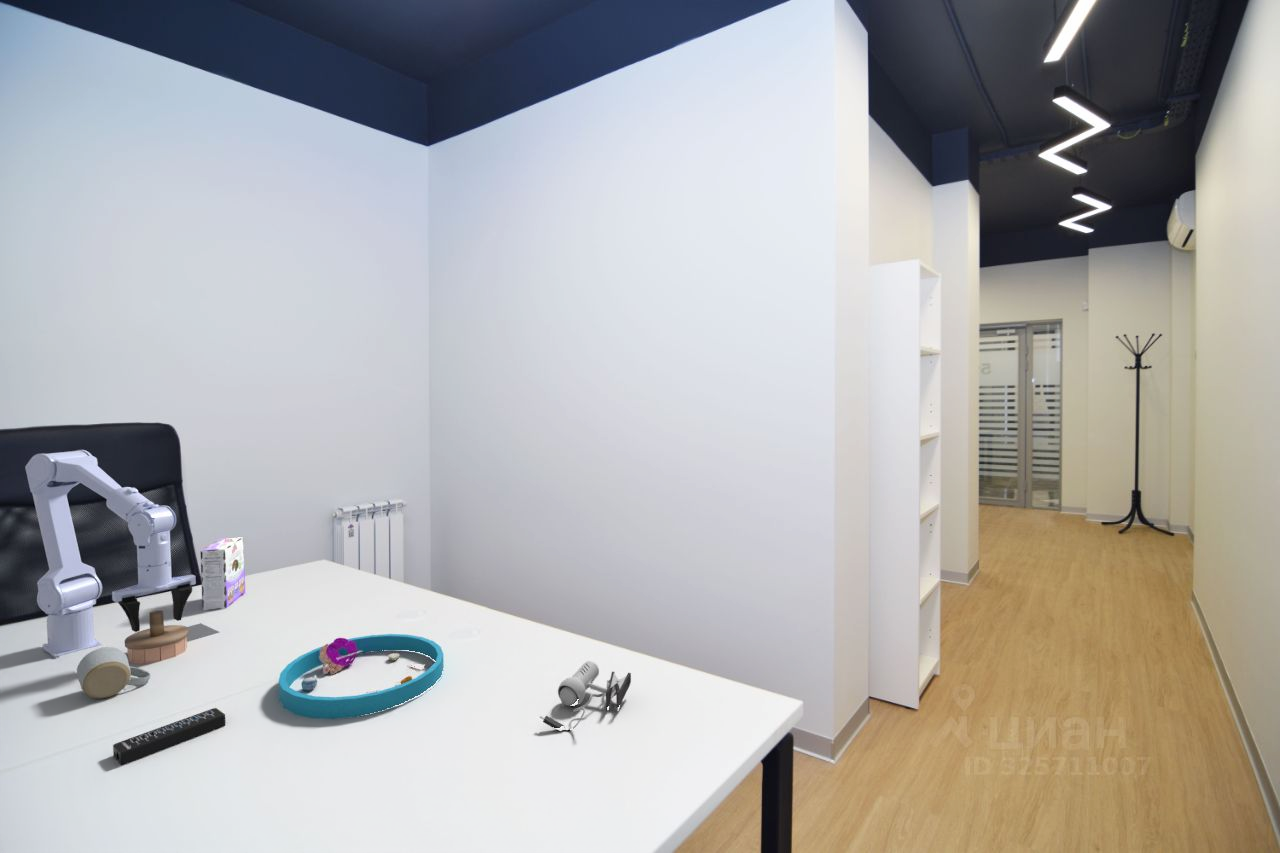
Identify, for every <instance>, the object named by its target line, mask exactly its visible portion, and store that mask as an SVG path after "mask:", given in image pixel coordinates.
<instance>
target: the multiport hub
mask: <svg viewBox="0 0 1280 853" xmlns="http://www.w3.org/2000/svg"><path fill="white" fill-rule="evenodd" d="M226 724H227V723H226V713H224V712H222V710H220V709H218V707H213V708H210V709H207V710H205V711H203V712H199V713H197V714H194V715H191V716H188V717H185V718H183V719H179V720H177V721H174V722H171V723H169V724H166V725H162V726H160V727H158V728H155V729H152V730H149V731H146V732H144V733H141V734H138V735H135V736H132V737H129V738H127V739H124V740H121V741H119V742H116V743H114V744H112V753H113V758H114V759H115V761H117V762H118V764H120V765H121V766H125V765H127V764H130V763H133V762H136V761H138V760H140V759H144V758H145V757H146V758H147V757H149V756H150V755H153V754H156V753H158V752H162V751H164V750H167V749H169V748H173V747H175V746H177V745H180V744H183V743H185V742H187V741H190V740H193V739H195V738H197V737H200V736H204V735H206V734H208V733H211V732H214V731H216V730H219V729H221V728H224V727H225V726H226Z"/></svg>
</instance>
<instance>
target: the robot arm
mask: <svg viewBox="0 0 1280 853" xmlns="http://www.w3.org/2000/svg"><path fill="white" fill-rule="evenodd" d="M98 465H99V462H98V458H97V457H96V456H93V455H92V453H91V452H89V451H87V450H85V449H76V450H72V451H64V452H63V451H62V452H61V451H60V452H51V453H36V454H34V455H33V456H32V457H31V458H30V459H29V460H28V462H27V463H26V465H25V466H24V467H25V468H24V469H25V473H26V476H27V477H26V478H27V481H28V485H29V486H28V487H29V490H30V491H29V492H30V493H32V497H33V498H32V499H33V503H34V506H35V512H36V516H37V520H38V524H39V529H40V534H41V538H42V542H43V543H42V544H43V546H44V551H45V556H46V560H47V564H48V571H46V572H45V574H44V575H43V576H42V577H41V578H39V580H38V581H37V583H36V584H37V596H36V602H37V605H38V607H39V609H41V611H43V612H44V613H45V614H46V615H47V617H46V630H47V631H46V632H47V633H46V634H47V644H43V645H42V646H41V648H42V650H44V651H45V652H47V653H49V654H50V655H51V656H52V657H54V658H60V657H62V656H65V655H69V654H72V653H76V652H79V651H83V650H87V649H91V648H94V647H99V646H102V642H100V641H99V640H97V639H95V624H94V608H93V607H94V605H96V604H97V599H99V598H100V597H101V595H102V592H103V584H102V581H101V580H100V578H99V577H98V575H97V574H96V569H95V567H93V566H91V565H88V564H86V563H84V562H82V558H81V554H80V550H79V546H78V541H77V535H76V532H75V531H76V530H75V527H74V524H73V518H72V514H71V509H70V506H69V501H68V493H69V492H70V491H71V490H72V488H74V487H76V486H77V485H79V484H82V485H84V486H85V487H87V488H88V489H90V490H91V491H93V492H95V493H96V494H98V495H100V496H101V497H102V498H104V499H106V503H105V504H106V507H107V508H108V510H110V511H111V512H113V513H114V514H116V515H117V516H118V517H120V518H121V519H122V520H124V521H125V522H126V523H127V527H128V531H129V532H130V534H131V536H132V538H133V543H134V545H135V546H136V554H137V556H136V558H137V578H138V579H137V580H138V582H137V584H135V585H131V586H127V587H125V588H121V589H117V590H112V591H111V594H112V595H111V596H112V597H111V600H112V601H113V602H115V603H118V605H119V606H120V607H121V609H122V610H123V612H124V613H125V615H126V617H127V619H128V622H129V624H130V627H131V631H133V632H134V633H137V632H140V631H141V630H140V629H141V628H140V626H141V625H140V606H141V601H139V600H138V598H136V597H141V596H145V595H149V594H154V593H159V592H163V591H168V590H170V593H171V598H172V599H171V600H172V614H173V615H172V616H173V620H175V621H178V622H179V621H181V620H182V618H183V613H184V610H185V606H186V604H187V602H188V600H189V597H190V596H191V594H192V592H193V586H194V585H196V583H197V582H196V581H197V580H196V575H194V574H188V575H182V576H173V577H172V556H171V552H172V551H171V531H172V530H173V529H174V528H175V527H176V525H177V515H176V513H175V512H174V510H173V509H172V508H171V506H168V505H159V504H158V503H157V504H155V503H154V502H153V501H151V500H149V499H148V498H146V496H144V495H143V494H142V493H140V492H139V490H138V489H137V488H136V487H130V486H124V487H122V486H121V485H120V484H119V483H118V482H117V481H115V479H113V478H112V477H111V476H110V475H108V474H107V473H106V472H105V471H104V470H103V469H102V468H101V467H99V466H98Z"/></svg>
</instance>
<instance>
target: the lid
mask: <svg viewBox="0 0 1280 853" xmlns="http://www.w3.org/2000/svg"><path fill="white" fill-rule="evenodd" d="M148 614H149V618H148V619H149V628H146V629H143V630H140V631H137V632H134V633H132V634H130V635H129V636H127V637H125V639H124V647H125V648H126V649H127V648H128V649H135V650H141V649H151V648H157V647H162V646H166V645H169V644H172V643H175V642H178V641H180V640H182V639H184V638H185V637H187V636H188V628H187V627H188V626H185V625H180V624H171V625H165V623H164V622H165V621H164V618H165V617H164V610H161V609H160V610H153V611H150V612H149V613H148Z"/></svg>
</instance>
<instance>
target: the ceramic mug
mask: <svg viewBox="0 0 1280 853" xmlns="http://www.w3.org/2000/svg"><path fill="white" fill-rule="evenodd" d="M129 662H130V661H128V655H126V653H125V652H124V651H123V650H122V649H120V648H116V647H113V646H112V647H111V646H109V647H108V646H106V647H100V648H97V649H94V650H92V651H90V652H89V653H87V654H85V656H83V657H82V659H81V660H80V662H79V663H78V665H77V668H76V676H77V679H78V683H79V686H80V689H81V690H82V692H83V693H84V694H86V696H87V697H90V698H92V699H93V698H94V699H106V698H110V697H113V696H115V695H117V694H118V693H120V692H121V691H122V690H124V689H125V687H126V686H132V687H133V686H136V687H137V686H144V685H147V684H148V683H149V680H150V679H151V672H149V671H147V670H146V669H143V668H139V667H135V666H131V665H130V664H129Z"/></svg>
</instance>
